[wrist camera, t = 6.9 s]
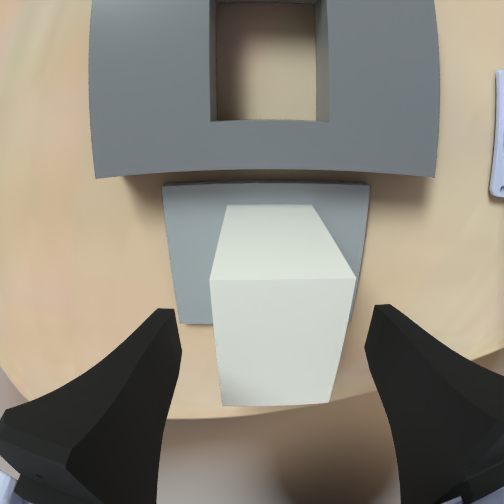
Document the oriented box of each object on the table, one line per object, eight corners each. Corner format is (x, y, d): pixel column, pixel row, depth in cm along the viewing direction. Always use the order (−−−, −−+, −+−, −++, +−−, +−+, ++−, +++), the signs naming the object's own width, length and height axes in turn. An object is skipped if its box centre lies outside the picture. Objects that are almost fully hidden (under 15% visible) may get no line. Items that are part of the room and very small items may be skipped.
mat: (366, 182, 15) (370, 185, 14) (348, 314, 18) (350, 320, 18) (164, 183, 15) (161, 186, 14) (181, 317, 18) (179, 323, 18)
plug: (311, 204, 15) (356, 278, 8) (304, 302, 17) (328, 402, 11) (227, 204, 15) (209, 279, 8) (231, 302, 17) (222, 406, 11)
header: (408, -8, 10) (430, -21, 8) (410, 167, 14) (434, 177, 12) (115, -11, 10) (95, -27, 8) (117, 167, 14) (95, 178, 12)
